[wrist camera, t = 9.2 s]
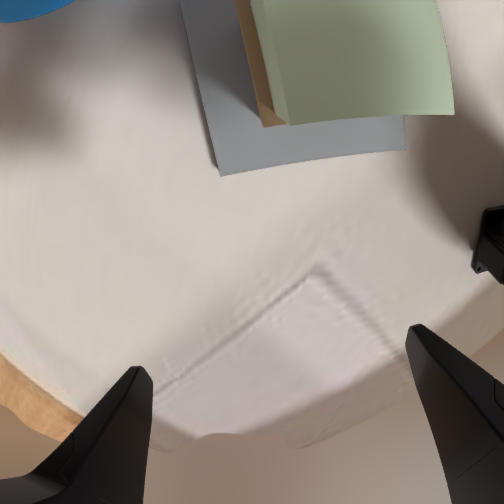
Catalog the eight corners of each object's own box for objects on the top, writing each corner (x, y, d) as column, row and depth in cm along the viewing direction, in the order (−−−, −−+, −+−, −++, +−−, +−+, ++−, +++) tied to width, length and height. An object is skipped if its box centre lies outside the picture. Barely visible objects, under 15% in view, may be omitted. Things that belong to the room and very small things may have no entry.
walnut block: (341, 14, 12) (373, -10, 8) (359, 106, 15) (396, 113, 11) (239, 24, 13) (234, -2, 8) (260, 118, 16) (263, 127, 11)
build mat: (370, -19, 11) (375, -23, 10) (399, 146, 17) (405, 149, 16) (181, 0, 12) (177, -5, 12) (222, 172, 18) (220, 176, 18)
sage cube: (366, -1, 8) (422, -37, 4) (387, 102, 11) (454, 115, 6) (250, 5, 9) (250, -45, 4) (274, 113, 11) (290, 125, 7)
